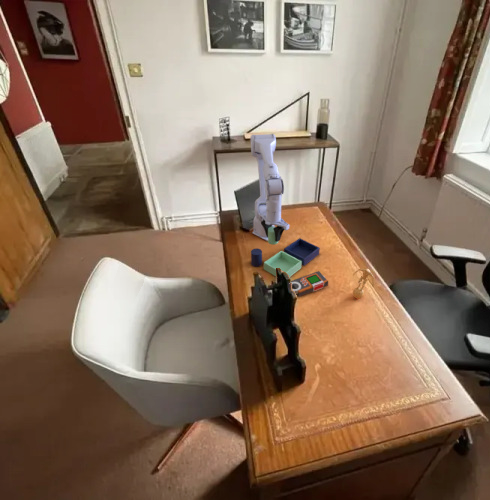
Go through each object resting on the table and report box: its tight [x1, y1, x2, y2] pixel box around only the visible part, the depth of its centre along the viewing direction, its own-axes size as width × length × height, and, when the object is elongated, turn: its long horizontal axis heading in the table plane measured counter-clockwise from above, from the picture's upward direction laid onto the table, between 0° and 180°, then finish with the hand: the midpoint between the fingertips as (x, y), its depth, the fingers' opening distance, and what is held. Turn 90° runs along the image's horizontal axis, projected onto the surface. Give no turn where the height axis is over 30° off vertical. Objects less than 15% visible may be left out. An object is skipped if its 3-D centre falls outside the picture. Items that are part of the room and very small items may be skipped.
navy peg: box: [250, 247, 263, 268], centre depth 127 cm, size 4×4×6 cm
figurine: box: [352, 268, 375, 300], centre depth 112 cm, size 8×6×12 cm
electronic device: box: [290, 270, 329, 297], centre depth 118 cm, size 7×3×15 cm
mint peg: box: [267, 226, 280, 246], centre depth 128 cm, size 4×4×6 cm
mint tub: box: [263, 250, 303, 278], centre depth 126 cm, size 11×11×4 cm
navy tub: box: [283, 237, 321, 267], centre depth 133 cm, size 11×11×4 cm
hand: (273, 238), depth 129 cm, fingers closed on mint peg, 4 cm apart
